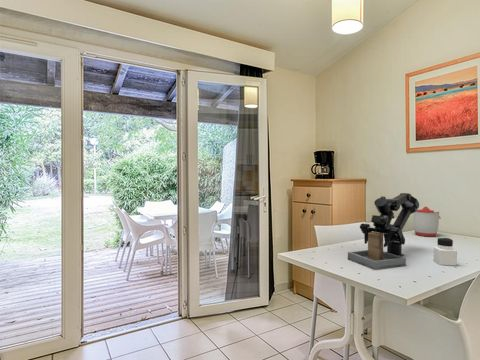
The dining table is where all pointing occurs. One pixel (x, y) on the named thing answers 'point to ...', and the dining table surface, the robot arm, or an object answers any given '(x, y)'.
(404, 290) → the dining table surface
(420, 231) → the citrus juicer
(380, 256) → the walnut block
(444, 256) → the medicine bottle
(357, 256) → the tray
